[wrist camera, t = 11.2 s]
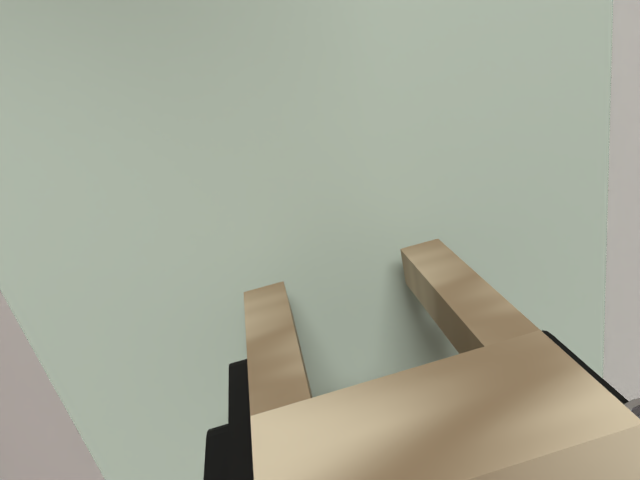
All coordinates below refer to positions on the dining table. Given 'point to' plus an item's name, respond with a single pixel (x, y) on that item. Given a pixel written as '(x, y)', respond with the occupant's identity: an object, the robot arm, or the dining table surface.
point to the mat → (287, 190)
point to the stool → (436, 397)
